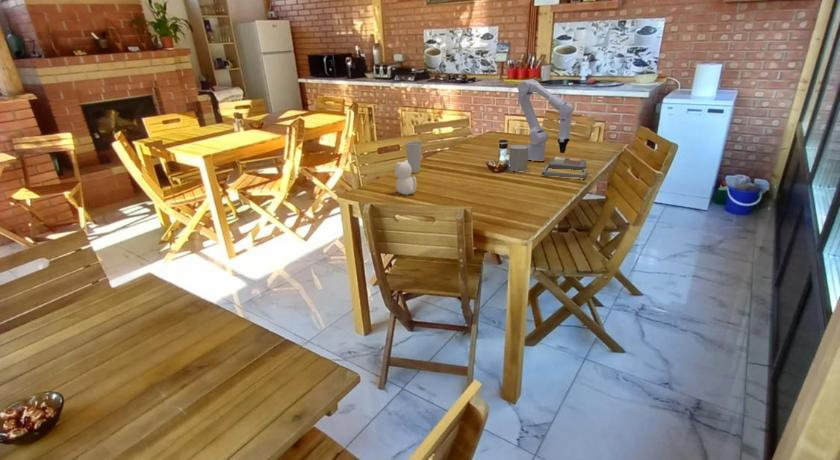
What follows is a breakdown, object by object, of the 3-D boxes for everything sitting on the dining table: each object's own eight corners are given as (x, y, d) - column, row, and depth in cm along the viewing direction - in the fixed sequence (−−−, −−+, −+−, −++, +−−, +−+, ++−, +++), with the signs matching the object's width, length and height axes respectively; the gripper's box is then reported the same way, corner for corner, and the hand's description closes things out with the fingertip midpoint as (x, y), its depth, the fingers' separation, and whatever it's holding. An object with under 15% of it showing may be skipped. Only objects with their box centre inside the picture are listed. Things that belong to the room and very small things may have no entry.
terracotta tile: (568, 163, 233) (569, 160, 232) (570, 161, 237) (570, 157, 236) (578, 164, 231) (579, 160, 230) (580, 162, 235) (580, 158, 234)
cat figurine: (404, 188, 215) (402, 157, 209) (423, 193, 207) (422, 161, 201) (391, 193, 209) (388, 161, 203) (410, 198, 201) (408, 165, 195)
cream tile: (553, 162, 236) (554, 159, 235) (555, 160, 240) (555, 156, 239) (563, 163, 234) (564, 159, 233) (565, 161, 238) (565, 157, 237)
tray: (541, 176, 225) (542, 171, 224) (546, 169, 235) (546, 164, 234) (583, 180, 217) (584, 175, 216) (586, 173, 228) (587, 168, 227)
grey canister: (506, 171, 235) (507, 148, 230) (511, 166, 243) (512, 144, 238) (524, 173, 231) (525, 149, 226) (529, 168, 238) (530, 145, 233)
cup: (420, 174, 235) (419, 144, 229) (404, 173, 237) (403, 144, 230) (423, 169, 242) (423, 141, 236) (408, 169, 244) (407, 140, 238)
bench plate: (548, 169, 235) (548, 164, 234) (552, 162, 247) (553, 157, 245) (582, 172, 228) (583, 166, 227) (585, 165, 240) (586, 160, 239)
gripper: (570, 130, 228) (568, 156, 234) (574, 125, 240) (571, 150, 246) (556, 129, 231) (554, 155, 237) (560, 124, 243) (558, 149, 249)
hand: (562, 152), depth 241 cm, fingers closed
